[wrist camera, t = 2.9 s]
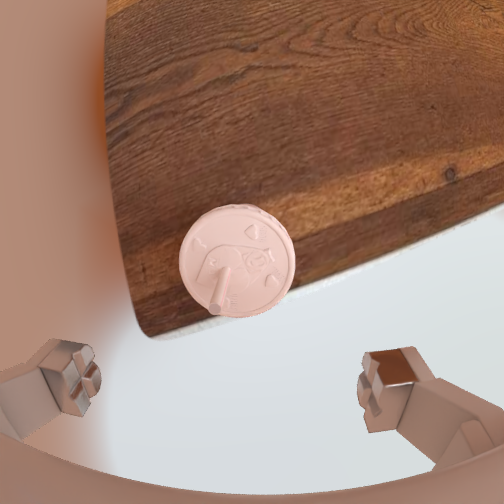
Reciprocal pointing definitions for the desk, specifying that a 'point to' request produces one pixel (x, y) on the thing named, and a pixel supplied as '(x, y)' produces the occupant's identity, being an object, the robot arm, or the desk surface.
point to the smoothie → (237, 261)
